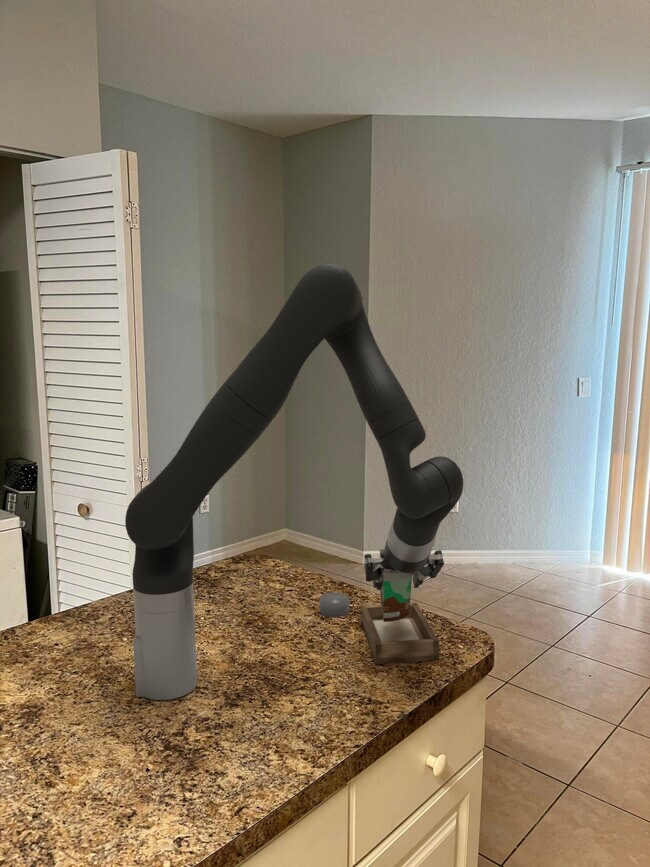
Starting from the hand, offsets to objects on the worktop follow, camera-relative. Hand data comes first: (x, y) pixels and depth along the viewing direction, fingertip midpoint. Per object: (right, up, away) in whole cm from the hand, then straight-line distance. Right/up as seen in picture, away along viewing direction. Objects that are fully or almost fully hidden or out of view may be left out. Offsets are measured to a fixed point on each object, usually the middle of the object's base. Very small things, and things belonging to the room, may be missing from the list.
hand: (396, 584), depth 128 cm
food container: (0, -5, -1) cm, 5 cm away
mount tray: (0, -10, 0) cm, 10 cm away
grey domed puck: (-11, -9, +14) cm, 20 cm away
